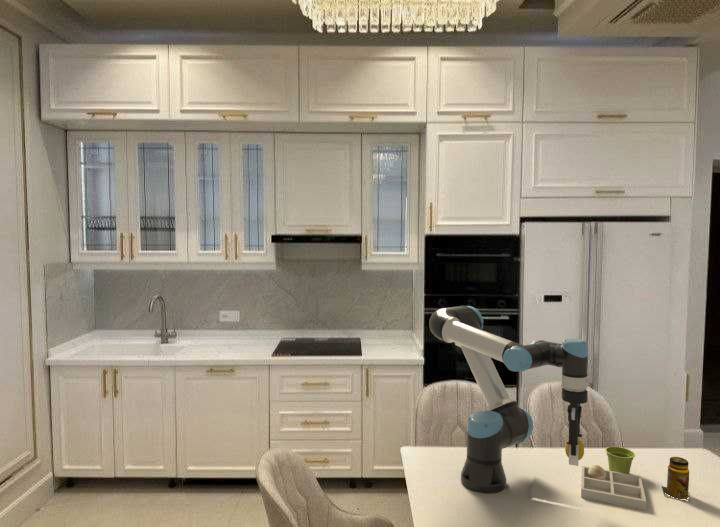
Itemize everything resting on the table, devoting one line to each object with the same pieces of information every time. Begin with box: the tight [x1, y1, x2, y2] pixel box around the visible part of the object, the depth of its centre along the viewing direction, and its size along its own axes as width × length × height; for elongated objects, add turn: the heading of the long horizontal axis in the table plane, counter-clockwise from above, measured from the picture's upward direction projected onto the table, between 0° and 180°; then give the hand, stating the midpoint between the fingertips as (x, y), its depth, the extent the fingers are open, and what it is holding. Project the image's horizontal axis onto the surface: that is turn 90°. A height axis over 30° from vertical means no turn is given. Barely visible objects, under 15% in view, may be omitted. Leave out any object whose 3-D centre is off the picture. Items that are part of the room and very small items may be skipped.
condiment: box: [661, 456, 691, 503], centre depth 171 cm, size 7×8×12 cm
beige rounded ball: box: [588, 464, 606, 480], centre depth 177 cm, size 6×6×6 cm
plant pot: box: [604, 446, 636, 474], centre depth 184 cm, size 9×9×9 cm
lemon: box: [564, 439, 585, 461], centre depth 164 cm, size 6×6×8 cm
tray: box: [580, 465, 647, 511], centre depth 172 cm, size 18×18×4 cm
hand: (574, 460), depth 164 cm, fingers closed on lemon, 5 cm apart
